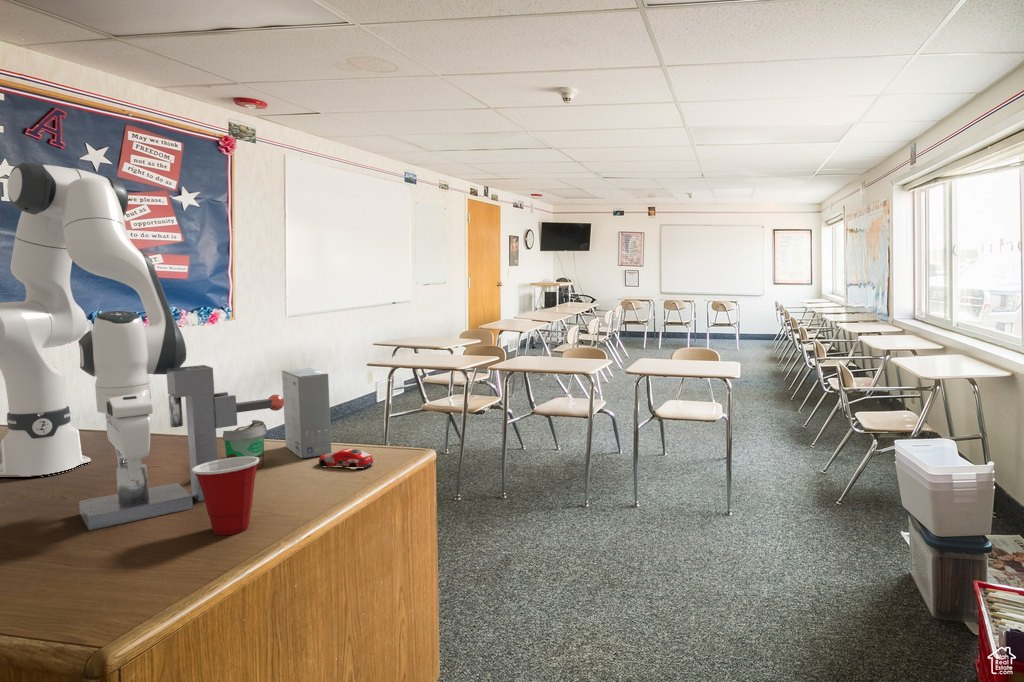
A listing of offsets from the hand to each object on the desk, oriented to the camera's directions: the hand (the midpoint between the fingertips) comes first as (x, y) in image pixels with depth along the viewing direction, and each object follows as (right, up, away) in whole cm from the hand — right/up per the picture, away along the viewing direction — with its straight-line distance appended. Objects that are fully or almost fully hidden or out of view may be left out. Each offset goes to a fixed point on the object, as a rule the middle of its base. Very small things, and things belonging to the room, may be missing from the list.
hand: (129, 472), depth 131 cm
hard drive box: (+20, -3, +44) cm, 49 cm away
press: (+5, -7, +4) cm, 9 cm away
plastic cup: (+22, -8, -9) cm, 26 cm away
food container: (+12, -5, +29) cm, 32 cm away
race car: (+33, -5, +30) cm, 45 cm away
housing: (0, -5, +1) cm, 5 cm away
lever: (+18, +10, +14) cm, 24 cm away
